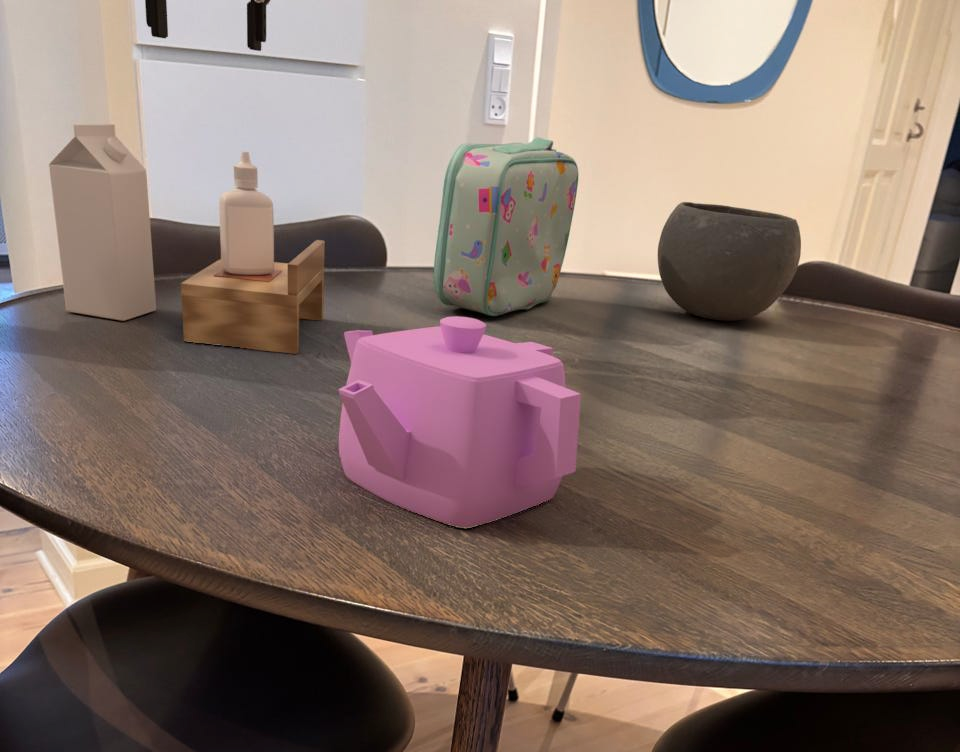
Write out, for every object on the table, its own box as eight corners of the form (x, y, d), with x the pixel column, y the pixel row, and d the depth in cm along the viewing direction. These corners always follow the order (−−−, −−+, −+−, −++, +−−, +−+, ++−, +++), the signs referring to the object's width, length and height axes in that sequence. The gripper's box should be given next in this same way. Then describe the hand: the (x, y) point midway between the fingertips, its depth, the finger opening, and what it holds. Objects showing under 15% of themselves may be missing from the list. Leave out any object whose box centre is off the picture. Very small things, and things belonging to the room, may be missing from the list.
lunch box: (505, 288, 146) (522, 132, 135) (566, 299, 142) (589, 141, 131) (422, 312, 124) (434, 130, 113) (492, 326, 121) (511, 140, 110)
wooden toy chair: (183, 342, 99) (178, 252, 95) (225, 308, 115) (222, 229, 110) (297, 354, 100) (297, 264, 95) (323, 318, 115) (324, 240, 111)
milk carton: (65, 313, 105) (42, 120, 95) (102, 302, 111) (84, 120, 101) (123, 322, 104) (105, 129, 94) (157, 311, 110) (143, 128, 100)
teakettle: (574, 540, 65) (604, 360, 59) (328, 524, 63) (331, 337, 57) (543, 455, 79) (564, 304, 73) (341, 441, 77) (345, 285, 71)
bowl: (790, 340, 133) (820, 226, 125) (646, 320, 134) (667, 207, 127) (774, 313, 150) (799, 212, 143) (647, 296, 152) (665, 195, 144)
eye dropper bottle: (271, 278, 102) (269, 156, 96) (218, 273, 102) (214, 150, 96) (276, 271, 106) (275, 153, 100) (225, 266, 106) (221, 147, 99)
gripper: (91, -198, 83) (108, 30, 92) (285, -171, 84) (284, 53, 92) (122, -176, 90) (135, 34, 98) (301, -151, 90) (299, 56, 99)
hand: (207, 43), depth 95 cm, fingers open, 9 cm apart
